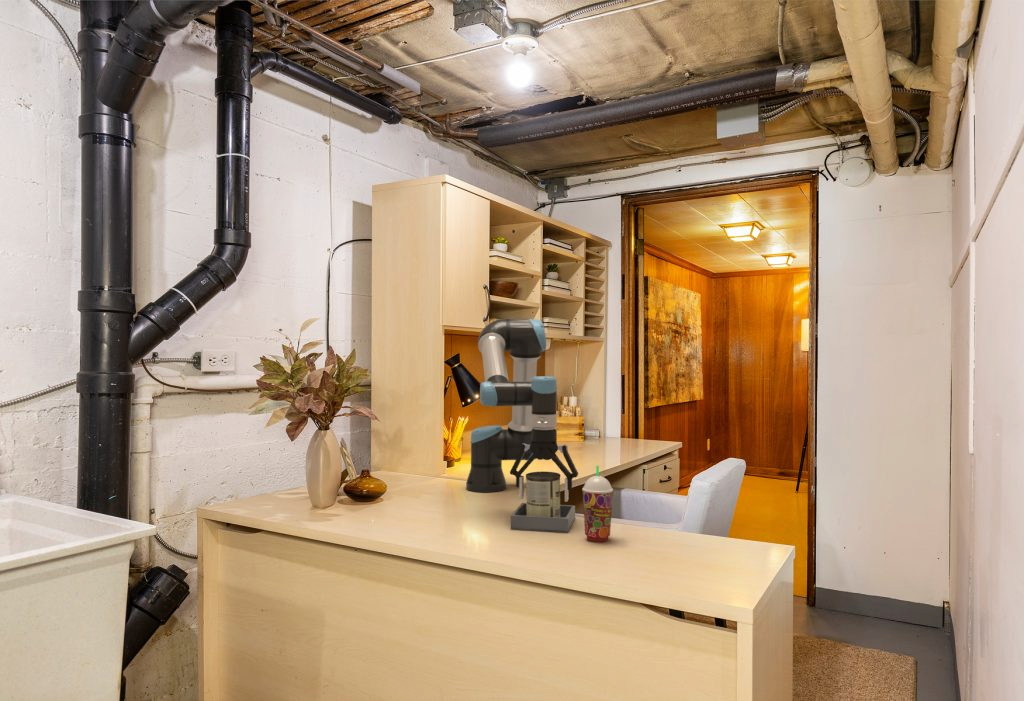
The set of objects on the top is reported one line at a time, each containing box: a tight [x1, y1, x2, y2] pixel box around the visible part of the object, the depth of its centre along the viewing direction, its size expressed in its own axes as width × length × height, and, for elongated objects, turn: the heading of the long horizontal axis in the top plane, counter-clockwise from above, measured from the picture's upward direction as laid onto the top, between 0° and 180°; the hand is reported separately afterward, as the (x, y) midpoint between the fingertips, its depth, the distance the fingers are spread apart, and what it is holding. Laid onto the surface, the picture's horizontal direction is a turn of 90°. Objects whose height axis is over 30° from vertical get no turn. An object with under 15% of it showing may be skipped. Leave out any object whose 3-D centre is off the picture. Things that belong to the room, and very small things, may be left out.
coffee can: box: [525, 471, 561, 518], centre depth 195 cm, size 10×10×14 cm
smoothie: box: [581, 465, 614, 543], centre depth 179 cm, size 8×8×20 cm
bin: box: [510, 502, 576, 534], centre depth 195 cm, size 17×17×4 cm
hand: (543, 499), depth 195 cm, fingers open, 13 cm apart
